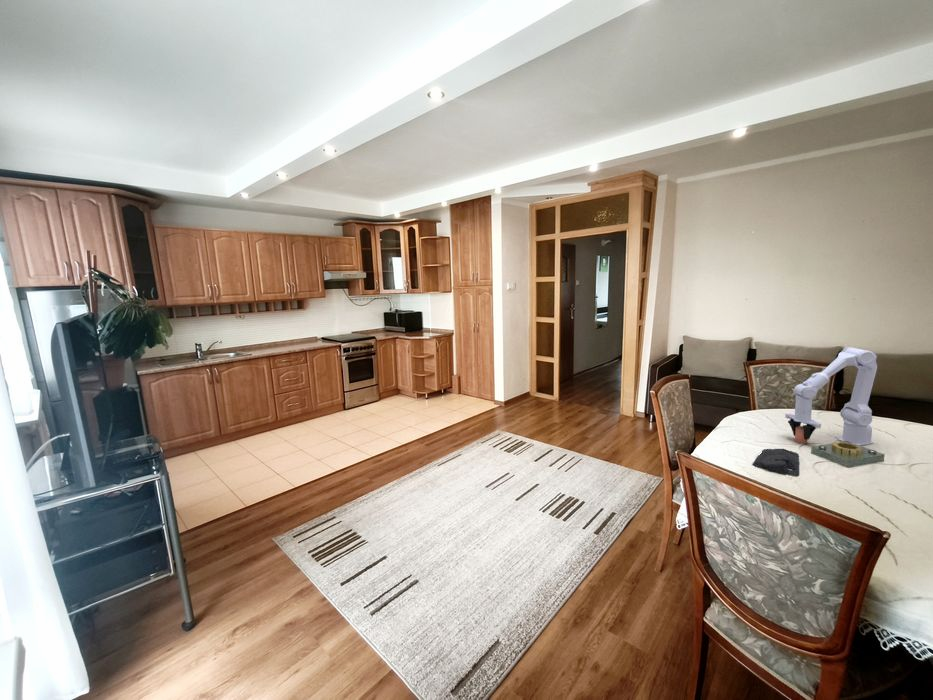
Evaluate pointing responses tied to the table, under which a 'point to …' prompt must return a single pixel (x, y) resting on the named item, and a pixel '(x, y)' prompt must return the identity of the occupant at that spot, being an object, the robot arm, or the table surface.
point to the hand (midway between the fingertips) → (801, 437)
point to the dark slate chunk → (778, 461)
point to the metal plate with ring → (847, 454)
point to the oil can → (800, 435)
